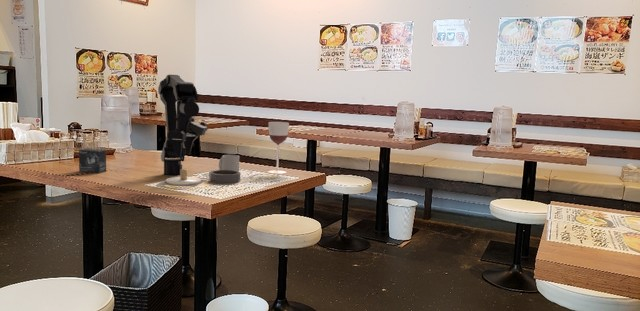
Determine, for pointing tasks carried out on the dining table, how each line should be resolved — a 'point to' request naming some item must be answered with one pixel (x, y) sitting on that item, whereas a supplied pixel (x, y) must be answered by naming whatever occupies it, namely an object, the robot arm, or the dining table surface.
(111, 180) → the dining table surface
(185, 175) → the lid
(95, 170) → the box
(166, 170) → the robot arm
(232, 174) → the bowl
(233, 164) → the cup
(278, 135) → the wineglass
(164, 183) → the mat
